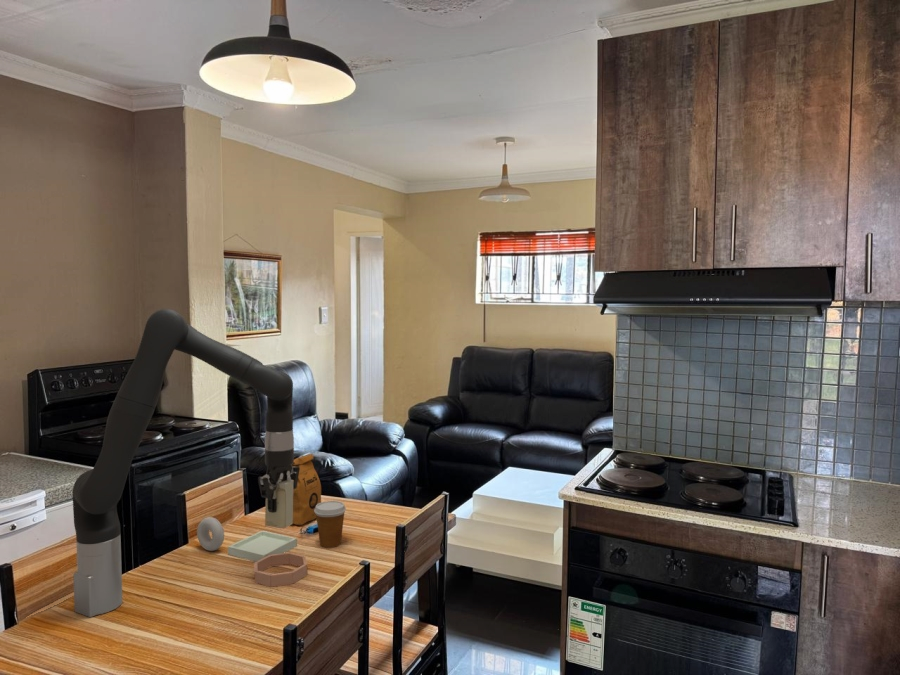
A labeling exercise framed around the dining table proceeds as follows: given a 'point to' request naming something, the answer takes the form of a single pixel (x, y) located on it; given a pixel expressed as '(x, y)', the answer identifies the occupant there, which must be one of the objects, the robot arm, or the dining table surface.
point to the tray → (262, 545)
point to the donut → (204, 534)
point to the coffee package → (305, 491)
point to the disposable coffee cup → (330, 522)
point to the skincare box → (281, 506)
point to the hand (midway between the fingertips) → (279, 508)
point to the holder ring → (280, 578)
